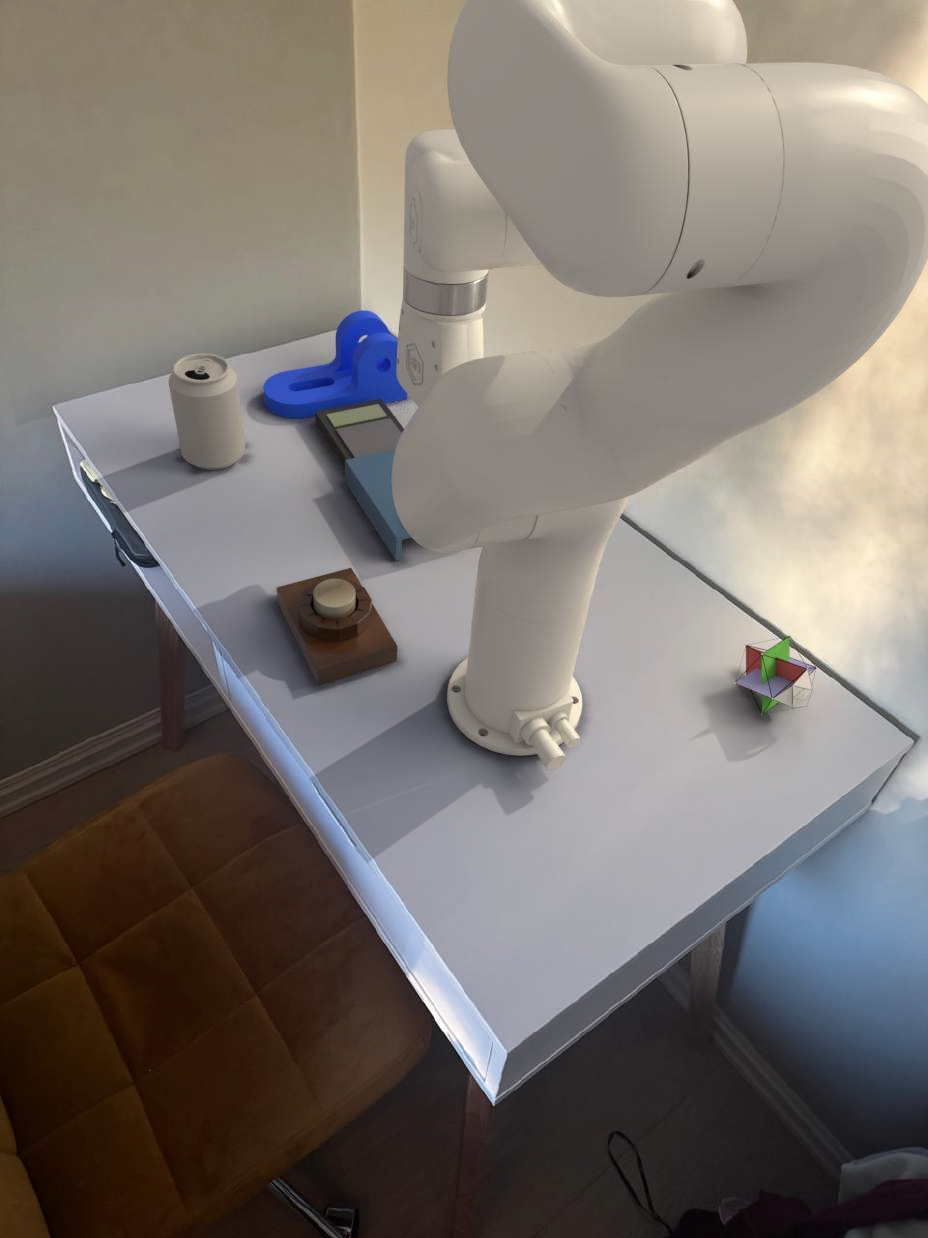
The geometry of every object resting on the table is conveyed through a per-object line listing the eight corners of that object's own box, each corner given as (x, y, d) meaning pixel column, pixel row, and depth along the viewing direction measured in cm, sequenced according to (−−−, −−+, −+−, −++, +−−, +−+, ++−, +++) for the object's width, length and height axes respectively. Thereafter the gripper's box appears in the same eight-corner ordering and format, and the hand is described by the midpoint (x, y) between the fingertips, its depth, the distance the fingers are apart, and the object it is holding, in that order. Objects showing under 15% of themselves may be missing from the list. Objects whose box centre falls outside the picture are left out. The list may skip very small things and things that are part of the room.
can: (169, 464, 107) (152, 373, 98) (202, 431, 112) (188, 342, 103) (227, 480, 106) (214, 389, 97) (257, 446, 111) (247, 357, 102)
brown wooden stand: (397, 661, 88) (398, 632, 85) (318, 686, 85) (316, 657, 82) (351, 582, 95) (350, 554, 92) (277, 602, 92) (274, 573, 89)
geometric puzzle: (706, 663, 87) (766, 648, 80) (751, 634, 91) (813, 618, 83) (739, 729, 87) (802, 721, 80) (783, 698, 91) (847, 687, 84)
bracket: (384, 368, 126) (384, 306, 119) (407, 398, 121) (409, 336, 114) (256, 390, 120) (250, 326, 113) (275, 423, 114) (269, 359, 108)
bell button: (362, 613, 87) (361, 600, 85) (322, 625, 85) (321, 612, 84) (346, 587, 89) (346, 574, 88) (308, 597, 88) (307, 584, 86)
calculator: (426, 471, 110) (426, 455, 108) (356, 487, 106) (356, 471, 105) (381, 411, 118) (381, 396, 116) (315, 424, 115) (314, 409, 113)
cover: (486, 536, 101) (490, 498, 97) (395, 560, 97) (396, 522, 94) (430, 463, 110) (432, 426, 106) (345, 483, 106) (344, 445, 103)
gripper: (374, 260, 84) (375, 430, 97) (443, 330, 75) (434, 509, 87) (446, 250, 87) (438, 417, 100) (522, 316, 77) (502, 492, 90)
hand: (436, 460), depth 93 cm, fingers closed
